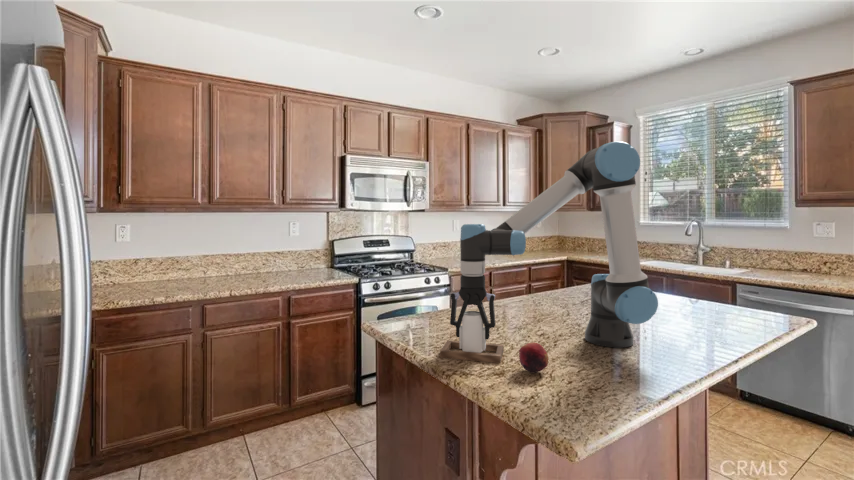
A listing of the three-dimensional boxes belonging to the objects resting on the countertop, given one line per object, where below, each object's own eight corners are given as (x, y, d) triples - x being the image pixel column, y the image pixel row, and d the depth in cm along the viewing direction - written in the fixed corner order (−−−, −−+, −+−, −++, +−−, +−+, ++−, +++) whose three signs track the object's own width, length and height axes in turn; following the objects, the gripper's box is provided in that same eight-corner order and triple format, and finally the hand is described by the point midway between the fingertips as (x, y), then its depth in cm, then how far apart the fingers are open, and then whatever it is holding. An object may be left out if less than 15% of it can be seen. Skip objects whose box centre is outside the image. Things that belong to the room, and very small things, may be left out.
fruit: (547, 368, 115) (547, 340, 115) (549, 378, 108) (549, 349, 107) (519, 366, 117) (519, 338, 116) (518, 376, 109) (519, 347, 109)
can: (482, 355, 123) (482, 316, 122) (461, 354, 124) (460, 315, 124) (483, 348, 129) (483, 310, 129) (463, 347, 131) (463, 310, 130)
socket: (503, 350, 130) (503, 344, 130) (500, 362, 119) (500, 356, 119) (447, 346, 134) (447, 340, 134) (440, 357, 124) (440, 351, 124)
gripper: (505, 273, 126) (505, 346, 128) (444, 271, 131) (444, 342, 133) (503, 277, 119) (503, 354, 121) (439, 275, 124) (439, 349, 126)
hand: (472, 348), depth 127 cm, fingers closed on can, 6 cm apart
